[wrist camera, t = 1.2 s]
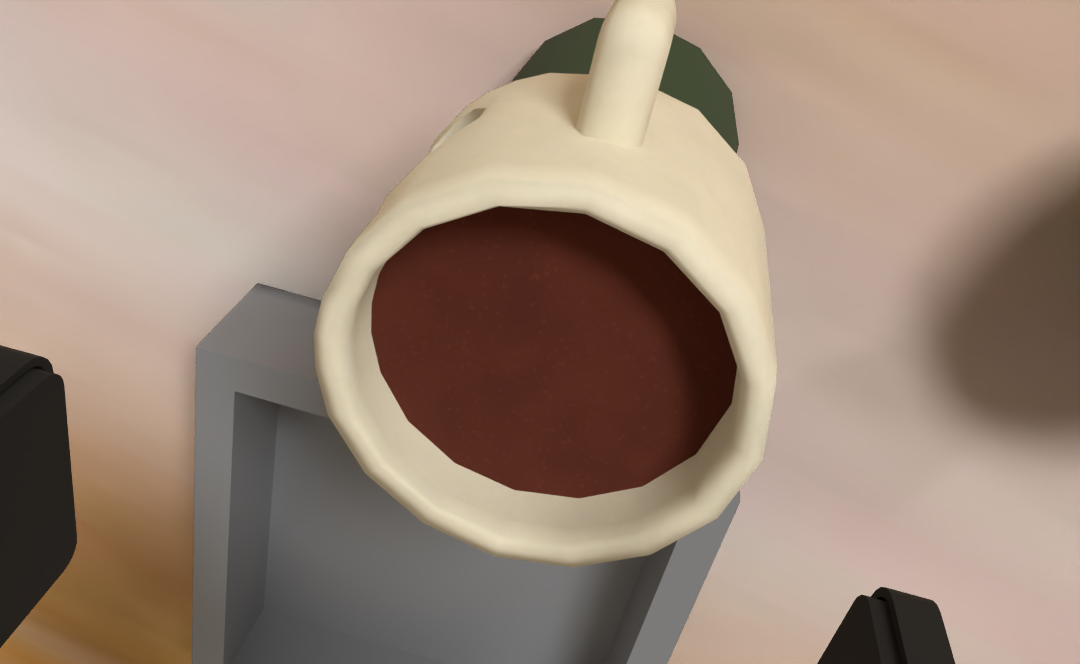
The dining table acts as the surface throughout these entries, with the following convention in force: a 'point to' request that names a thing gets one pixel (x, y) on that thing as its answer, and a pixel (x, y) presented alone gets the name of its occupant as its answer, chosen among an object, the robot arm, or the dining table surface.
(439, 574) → the grey tray
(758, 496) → the dining table surface
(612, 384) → the character mug
